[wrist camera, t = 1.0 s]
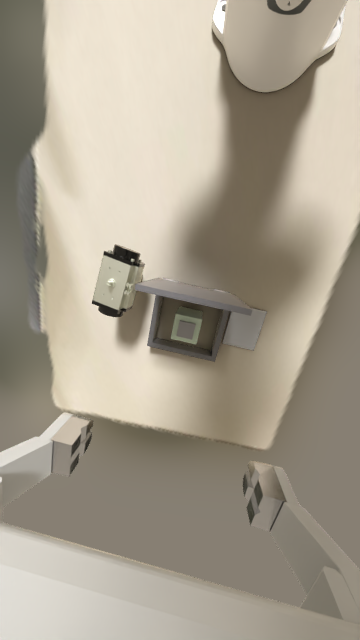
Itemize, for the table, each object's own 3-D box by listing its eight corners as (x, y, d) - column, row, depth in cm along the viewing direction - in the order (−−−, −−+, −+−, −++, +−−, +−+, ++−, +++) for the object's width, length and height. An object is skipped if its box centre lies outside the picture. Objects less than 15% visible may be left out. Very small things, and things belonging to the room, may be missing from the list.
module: (179, 306, 42) (175, 314, 35) (202, 311, 42) (202, 320, 35) (175, 327, 44) (170, 339, 36) (197, 332, 43) (196, 345, 36)
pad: (233, 304, 41) (233, 304, 40) (266, 311, 40) (267, 311, 40) (222, 342, 43) (222, 343, 43) (253, 349, 43) (253, 350, 43)
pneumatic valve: (116, 300, 43) (85, 312, 32) (131, 248, 40) (102, 240, 28) (139, 309, 43) (117, 324, 32) (155, 257, 40) (137, 254, 28)
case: (161, 276, 41) (135, 282, 25) (231, 291, 40) (253, 308, 24) (150, 340, 45) (122, 382, 29) (213, 355, 44) (221, 407, 28)
